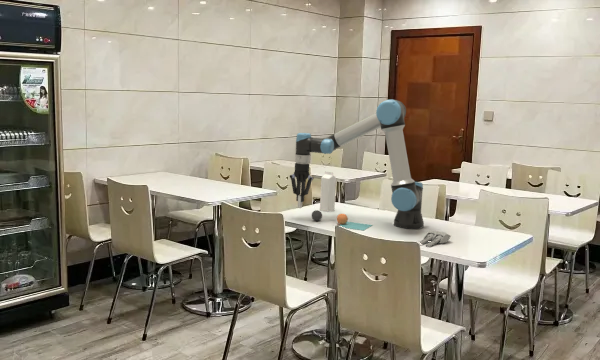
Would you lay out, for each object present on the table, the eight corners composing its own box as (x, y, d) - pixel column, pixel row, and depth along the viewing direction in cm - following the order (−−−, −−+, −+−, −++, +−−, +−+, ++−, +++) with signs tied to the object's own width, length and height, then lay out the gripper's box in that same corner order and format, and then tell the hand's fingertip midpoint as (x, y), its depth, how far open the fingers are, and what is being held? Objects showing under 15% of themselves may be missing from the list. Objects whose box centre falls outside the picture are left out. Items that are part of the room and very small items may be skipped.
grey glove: (412, 249, 265) (412, 239, 264) (434, 235, 279) (434, 226, 278) (432, 253, 259) (432, 243, 257) (453, 239, 273) (453, 230, 272)
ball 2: (348, 224, 301) (349, 213, 300) (345, 225, 296) (345, 215, 295) (338, 222, 303) (339, 212, 302) (334, 224, 298) (335, 213, 297)
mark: (372, 225, 300) (372, 224, 300) (363, 230, 287) (363, 230, 287) (346, 221, 305) (346, 221, 305) (336, 226, 293) (336, 226, 293)
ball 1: (323, 220, 306) (324, 210, 306) (319, 222, 301) (319, 211, 301) (313, 219, 309) (314, 208, 308) (309, 221, 304) (310, 210, 303)
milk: (327, 212, 329) (329, 173, 326) (319, 210, 333) (321, 171, 330) (334, 210, 334) (336, 172, 330) (326, 209, 338) (328, 171, 335)
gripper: (287, 162, 304) (285, 207, 307) (310, 164, 299) (308, 210, 302) (294, 161, 311) (291, 205, 314) (316, 163, 305) (314, 208, 309)
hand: (299, 207), depth 308 cm, fingers closed
